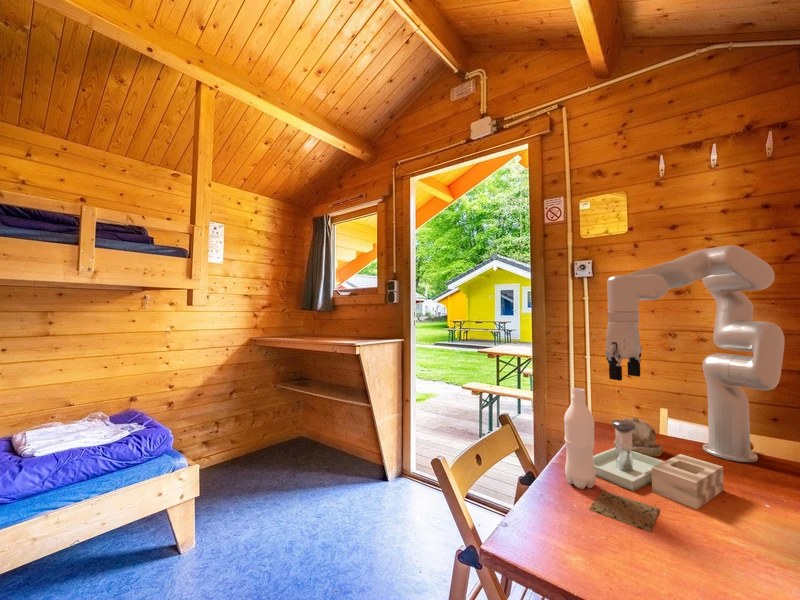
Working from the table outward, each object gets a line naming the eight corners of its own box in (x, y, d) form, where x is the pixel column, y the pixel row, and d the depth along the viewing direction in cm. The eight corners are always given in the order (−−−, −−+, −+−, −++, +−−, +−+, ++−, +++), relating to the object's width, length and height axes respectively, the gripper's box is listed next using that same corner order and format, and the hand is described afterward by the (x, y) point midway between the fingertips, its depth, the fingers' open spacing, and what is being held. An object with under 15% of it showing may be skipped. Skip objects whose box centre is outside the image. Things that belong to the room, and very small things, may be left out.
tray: (617, 454, 109) (617, 446, 110) (670, 472, 97) (669, 463, 97) (580, 469, 99) (580, 460, 99) (633, 491, 87) (632, 481, 87)
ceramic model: (606, 445, 117) (605, 415, 117) (620, 438, 124) (619, 409, 124) (655, 459, 106) (654, 426, 106) (668, 450, 112) (667, 419, 113)
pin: (619, 462, 102) (618, 418, 102) (640, 470, 97) (639, 424, 97) (608, 467, 99) (607, 421, 100) (629, 475, 94) (628, 427, 95)
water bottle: (600, 492, 87) (598, 392, 87) (569, 489, 88) (567, 391, 89) (590, 478, 94) (588, 386, 94) (562, 476, 95) (560, 385, 96)
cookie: (661, 510, 80) (660, 506, 80) (651, 535, 71) (651, 530, 71) (603, 491, 88) (602, 487, 88) (588, 511, 80) (587, 507, 80)
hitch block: (680, 475, 95) (680, 453, 95) (723, 490, 87) (722, 466, 88) (652, 491, 87) (651, 467, 87) (696, 509, 79) (695, 482, 80)
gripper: (625, 317, 107) (627, 372, 107) (593, 318, 98) (594, 379, 98) (652, 317, 101) (654, 376, 100) (620, 319, 92) (622, 383, 91)
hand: (625, 377), depth 99 cm, fingers open, 9 cm apart
